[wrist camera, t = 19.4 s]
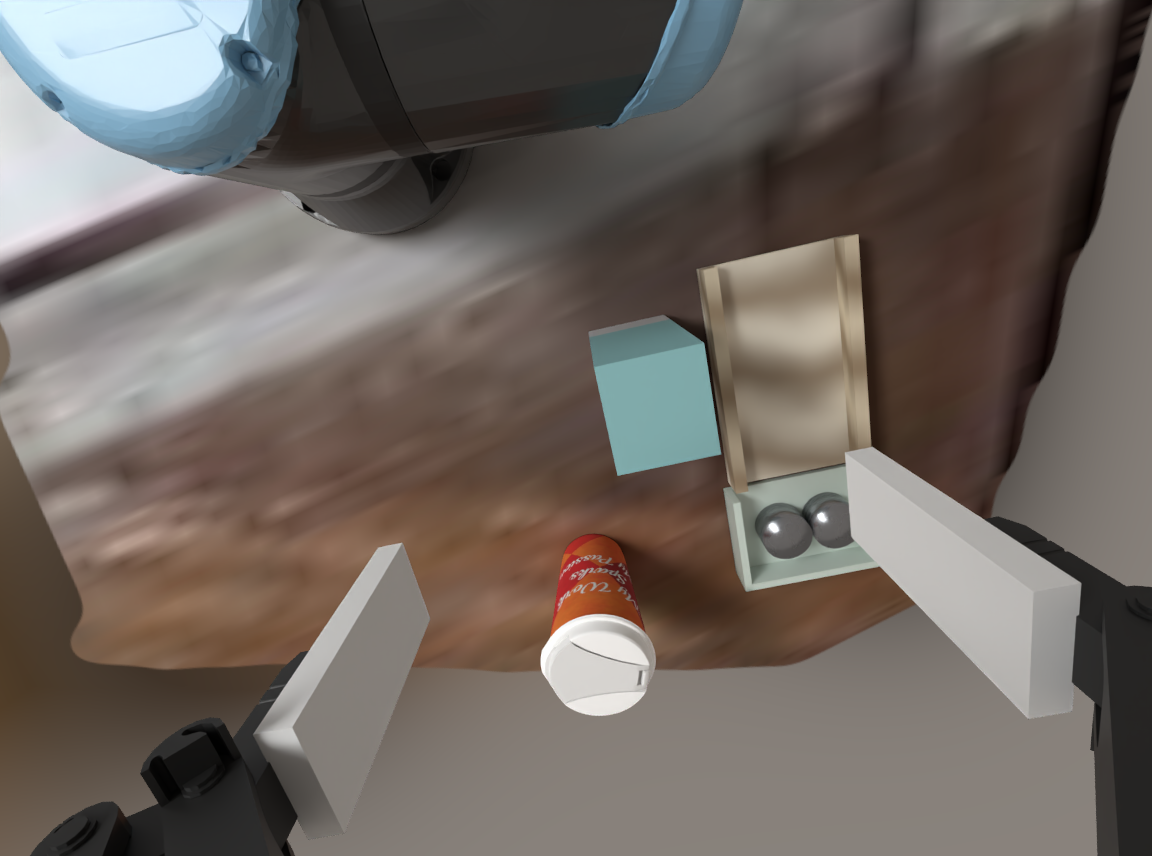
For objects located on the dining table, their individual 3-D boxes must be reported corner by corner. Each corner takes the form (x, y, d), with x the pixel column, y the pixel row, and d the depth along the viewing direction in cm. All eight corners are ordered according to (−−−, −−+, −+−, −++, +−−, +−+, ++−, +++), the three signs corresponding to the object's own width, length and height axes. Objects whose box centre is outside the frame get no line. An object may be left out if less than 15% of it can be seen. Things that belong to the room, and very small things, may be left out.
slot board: (696, 269, 41) (703, 270, 39) (842, 235, 40) (858, 234, 38) (728, 481, 47) (736, 493, 44) (857, 455, 46) (872, 466, 43)
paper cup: (640, 526, 48) (665, 631, 34) (630, 600, 50) (650, 725, 37) (552, 519, 48) (543, 623, 34) (546, 594, 50) (536, 718, 37)
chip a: (796, 501, 47) (808, 514, 44) (842, 485, 46) (856, 498, 44) (807, 539, 48) (819, 554, 45) (852, 525, 47) (867, 539, 45)
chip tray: (723, 488, 47) (732, 503, 44) (863, 459, 46) (883, 473, 43) (736, 572, 49) (746, 591, 46) (869, 546, 48) (888, 564, 46)
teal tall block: (588, 331, 43) (594, 367, 29) (663, 314, 42) (704, 342, 29) (605, 409, 45) (617, 475, 31) (677, 393, 44) (721, 454, 31)
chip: (745, 526, 47) (753, 540, 45) (778, 494, 46) (788, 507, 44) (777, 551, 48) (787, 567, 46) (811, 520, 47) (822, 535, 45)
